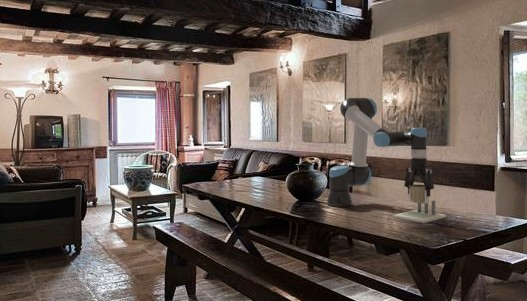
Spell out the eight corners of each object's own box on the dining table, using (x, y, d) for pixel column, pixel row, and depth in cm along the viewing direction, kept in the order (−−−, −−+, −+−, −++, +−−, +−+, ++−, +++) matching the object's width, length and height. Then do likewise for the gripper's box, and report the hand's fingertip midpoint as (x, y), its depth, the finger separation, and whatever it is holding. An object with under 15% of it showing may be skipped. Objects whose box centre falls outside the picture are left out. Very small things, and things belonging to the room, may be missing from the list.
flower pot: (416, 204, 216) (416, 187, 216) (405, 201, 226) (405, 185, 225) (432, 203, 219) (432, 186, 219) (421, 200, 228) (421, 184, 228)
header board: (392, 217, 224) (392, 201, 224) (414, 212, 236) (414, 197, 236) (424, 222, 210) (424, 206, 209) (446, 217, 222) (446, 201, 222)
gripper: (396, 157, 227) (397, 200, 228) (433, 159, 211) (433, 205, 212) (405, 156, 232) (405, 198, 233) (442, 158, 215) (442, 203, 216)
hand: (418, 201), depth 222 cm, fingers closed on flower pot, 8 cm apart
